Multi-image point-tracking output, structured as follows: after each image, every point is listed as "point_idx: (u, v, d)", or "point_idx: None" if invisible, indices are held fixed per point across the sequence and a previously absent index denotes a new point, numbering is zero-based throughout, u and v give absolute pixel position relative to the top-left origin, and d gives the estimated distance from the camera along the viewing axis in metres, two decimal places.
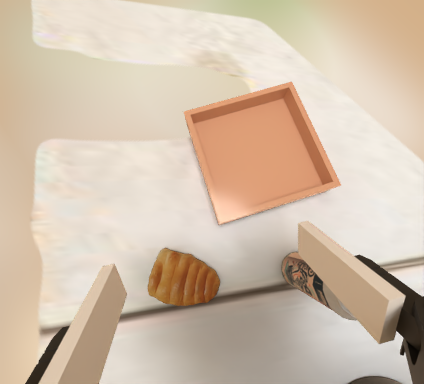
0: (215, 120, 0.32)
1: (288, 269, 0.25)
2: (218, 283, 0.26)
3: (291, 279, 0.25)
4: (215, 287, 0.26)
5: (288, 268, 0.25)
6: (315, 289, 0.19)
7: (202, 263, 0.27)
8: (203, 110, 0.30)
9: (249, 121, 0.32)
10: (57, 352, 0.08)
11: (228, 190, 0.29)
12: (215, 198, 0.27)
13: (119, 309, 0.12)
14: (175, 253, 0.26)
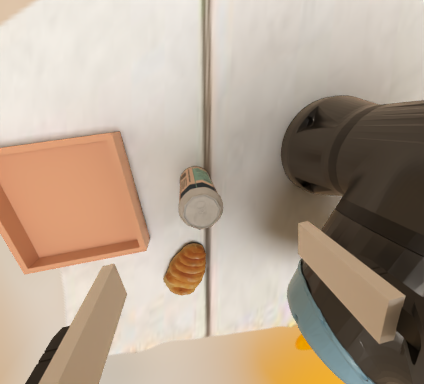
0: (32, 236, 0.29)
1: None
2: (193, 247, 0.33)
3: None
4: (195, 250, 0.33)
5: None
6: None
7: (177, 257, 0.34)
8: (20, 257, 0.28)
9: (29, 202, 0.28)
10: (57, 352, 0.08)
11: (116, 231, 0.31)
12: (122, 252, 0.30)
13: (119, 309, 0.12)
14: (167, 276, 0.34)
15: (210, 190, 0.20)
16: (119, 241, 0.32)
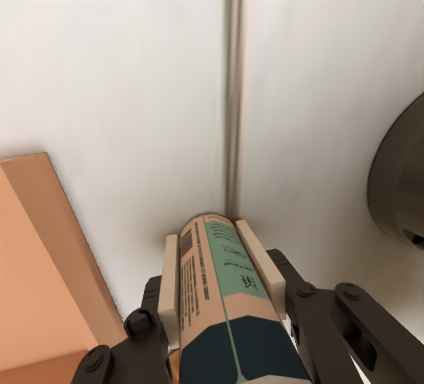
0: None
1: None
2: None
3: None
4: None
5: None
6: None
7: None
8: None
9: None
10: (161, 288, 0.10)
11: (61, 337, 0.16)
12: None
13: None
14: None
15: None
16: (70, 351, 0.17)
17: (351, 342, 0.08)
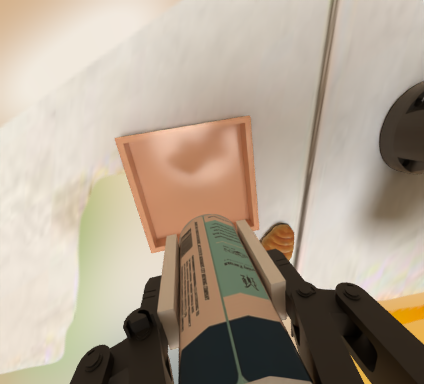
0: (154, 218, 0.31)
1: None
2: (284, 227, 0.35)
3: None
4: (286, 229, 0.35)
5: None
6: None
7: (269, 238, 0.35)
8: (151, 236, 0.29)
9: (157, 185, 0.30)
10: (161, 288, 0.10)
11: (227, 212, 0.33)
12: None
13: None
14: None
15: None
16: None
17: (351, 342, 0.08)
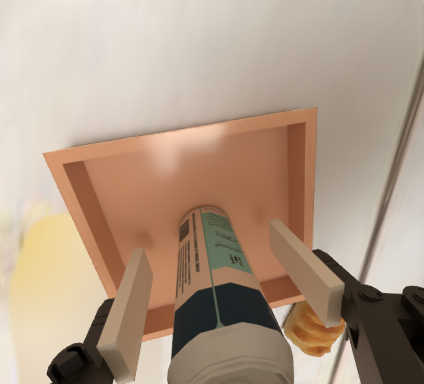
0: None
1: None
2: None
3: None
4: None
5: None
6: None
7: None
8: None
9: (140, 231, 0.17)
10: (109, 315, 0.09)
11: (256, 268, 0.20)
12: (277, 303, 0.19)
13: (149, 288, 0.13)
14: (297, 333, 0.23)
15: (261, 332, 0.07)
16: None
17: (416, 349, 0.08)
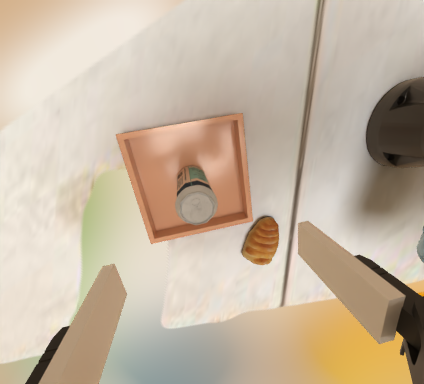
0: (153, 211, 0.33)
1: None
2: (268, 220, 0.36)
3: None
4: (270, 222, 0.36)
5: None
6: None
7: (254, 231, 0.37)
8: (150, 228, 0.31)
9: (156, 179, 0.31)
10: (57, 352, 0.08)
11: (222, 205, 0.35)
12: (233, 222, 0.33)
13: (118, 309, 0.12)
14: (247, 250, 0.37)
15: (204, 187, 0.21)
16: (223, 215, 0.35)
17: None
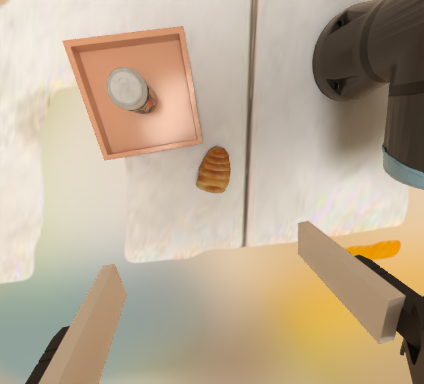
0: (108, 131, 0.35)
1: None
2: (217, 148, 0.38)
3: (144, 112, 0.32)
4: (219, 150, 0.38)
5: None
6: (133, 110, 0.26)
7: (204, 159, 0.39)
8: (102, 143, 0.33)
9: (109, 98, 0.33)
10: (57, 352, 0.08)
11: (175, 130, 0.37)
12: (183, 143, 0.35)
13: (119, 309, 0.12)
14: (199, 178, 0.39)
15: (132, 69, 0.23)
16: (177, 140, 0.37)
17: None
